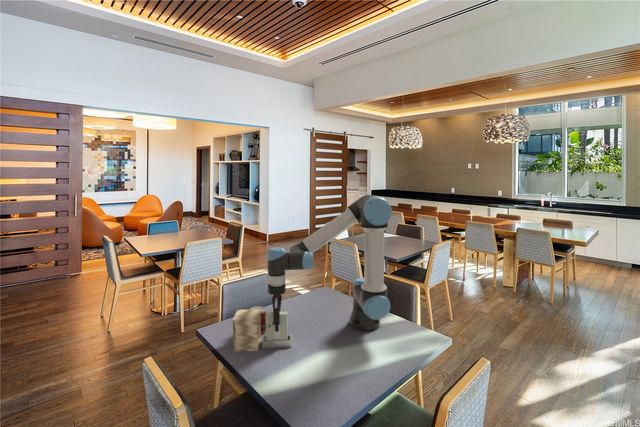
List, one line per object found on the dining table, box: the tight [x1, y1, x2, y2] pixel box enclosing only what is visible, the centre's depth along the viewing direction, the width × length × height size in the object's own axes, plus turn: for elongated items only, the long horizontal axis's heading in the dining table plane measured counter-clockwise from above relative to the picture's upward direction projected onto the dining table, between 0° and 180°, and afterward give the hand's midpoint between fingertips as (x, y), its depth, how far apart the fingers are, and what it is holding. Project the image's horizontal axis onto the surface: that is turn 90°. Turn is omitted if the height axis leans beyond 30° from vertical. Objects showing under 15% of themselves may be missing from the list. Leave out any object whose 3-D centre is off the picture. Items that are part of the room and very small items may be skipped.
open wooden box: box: [232, 308, 262, 352], centre depth 142 cm, size 10×10×14 cm
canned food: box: [248, 305, 267, 336], centre depth 154 cm, size 8×8×11 cm
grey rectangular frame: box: [261, 334, 293, 349], centre depth 143 cm, size 13×6×3 cm, turn 94°
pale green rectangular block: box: [265, 310, 289, 341], centre depth 142 cm, size 9×4×12 cm, turn 94°
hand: (277, 335), depth 143 cm, fingers closed on pale green rectangular block, 3 cm apart
